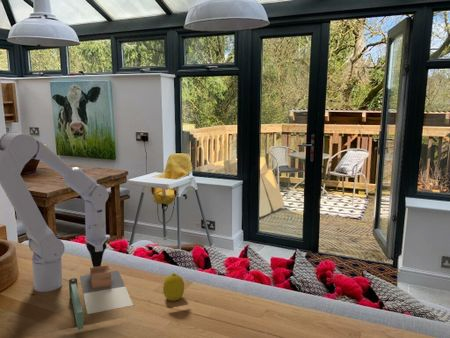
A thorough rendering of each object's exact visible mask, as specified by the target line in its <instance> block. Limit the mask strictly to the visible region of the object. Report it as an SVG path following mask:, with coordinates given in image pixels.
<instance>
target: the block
mask: <svg viewBox="0 0 450 338" xmlns="http://www.w3.org/2000/svg"><path fill="white" fill-rule="evenodd" d="M89 271H90V274H89V275H90V278H91V285H92V289H94V288H100V287H106V286H111V271H112V270H111V268H110V266H109V265H101V266H99V267H93V266H92V267H90V268H89Z"/></svg>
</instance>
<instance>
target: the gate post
mask: <svg viewBox="0 0 450 338" xmlns="http://www.w3.org/2000/svg"><path fill="white" fill-rule="evenodd" d="M71 284H76V285H77V289H78V278H76V277H74V278H70V279H69V280H68V286H69V287H68V290H69V300H70V301H72V294H71Z"/></svg>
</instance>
